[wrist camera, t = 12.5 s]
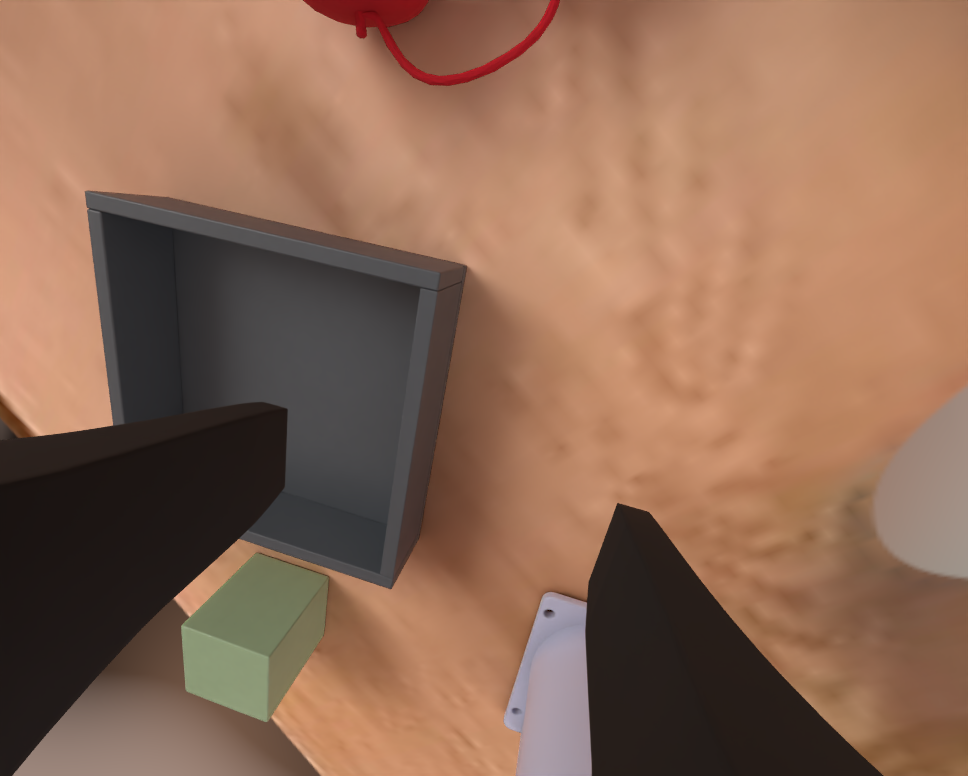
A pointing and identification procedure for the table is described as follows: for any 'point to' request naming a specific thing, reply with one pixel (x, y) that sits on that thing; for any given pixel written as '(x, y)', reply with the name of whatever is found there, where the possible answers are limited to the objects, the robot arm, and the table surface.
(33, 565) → the robot arm
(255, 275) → the tub
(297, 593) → the block
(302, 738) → the table surface
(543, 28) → the alarm clock
